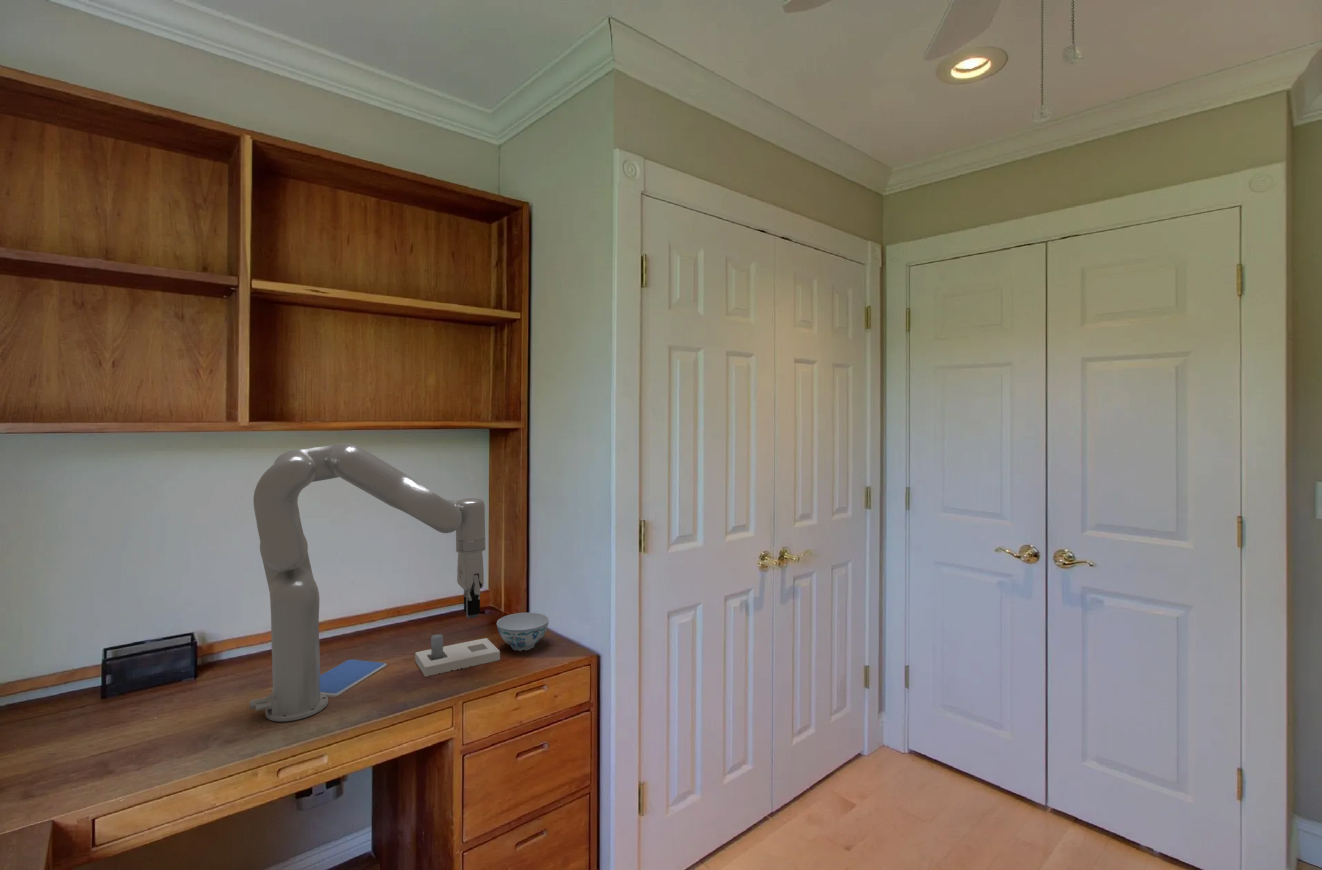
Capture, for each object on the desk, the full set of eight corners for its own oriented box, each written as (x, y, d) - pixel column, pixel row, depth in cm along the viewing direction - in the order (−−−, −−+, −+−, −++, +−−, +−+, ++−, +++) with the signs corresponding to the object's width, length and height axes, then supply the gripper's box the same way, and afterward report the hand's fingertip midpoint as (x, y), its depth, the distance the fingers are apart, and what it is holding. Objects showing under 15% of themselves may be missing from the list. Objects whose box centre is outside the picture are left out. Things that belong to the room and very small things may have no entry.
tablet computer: (335, 699, 151) (335, 694, 151) (292, 694, 154) (292, 688, 154) (388, 667, 170) (388, 662, 170) (349, 663, 173) (348, 658, 173)
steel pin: (467, 619, 165) (467, 589, 165) (465, 615, 168) (464, 586, 167) (479, 616, 167) (478, 587, 166) (476, 613, 169) (475, 584, 169)
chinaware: (485, 650, 180) (485, 624, 180) (521, 634, 193) (521, 609, 193) (525, 660, 173) (524, 633, 173) (559, 643, 186) (559, 617, 186)
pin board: (425, 676, 162) (424, 646, 162) (415, 661, 172) (414, 632, 172) (499, 660, 173) (499, 631, 173) (486, 646, 183) (486, 619, 183)
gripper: (449, 541, 171) (450, 606, 172) (464, 552, 157) (465, 624, 158) (476, 538, 175) (477, 602, 176) (493, 549, 161) (494, 618, 162)
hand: (472, 611), depth 167 cm, fingers closed on steel pin, 3 cm apart
